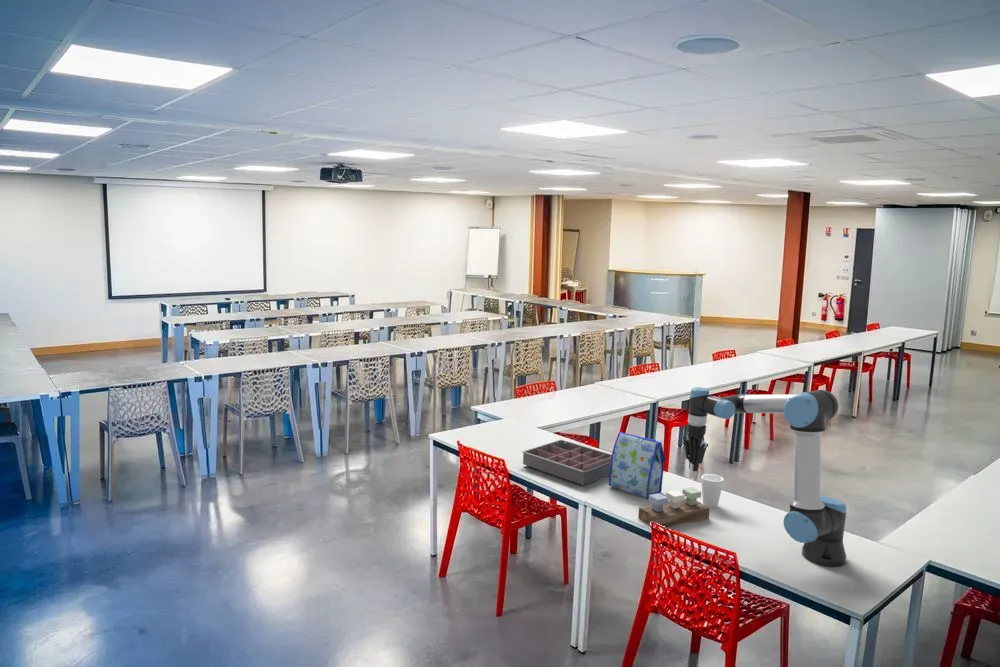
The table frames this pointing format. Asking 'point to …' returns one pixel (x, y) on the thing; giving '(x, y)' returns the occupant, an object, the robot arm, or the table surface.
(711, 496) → the foam cup
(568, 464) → the organizer tray
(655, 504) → the slate key
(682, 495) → the cream key
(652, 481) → the lunch bag
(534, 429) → the table surface
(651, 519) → the wooden socket block
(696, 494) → the sage key
